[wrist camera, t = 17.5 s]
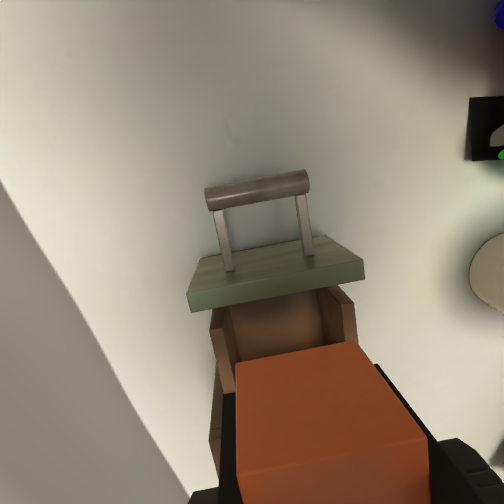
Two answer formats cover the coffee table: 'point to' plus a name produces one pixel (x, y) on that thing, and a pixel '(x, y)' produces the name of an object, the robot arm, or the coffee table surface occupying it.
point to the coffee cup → (489, 273)
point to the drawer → (273, 283)
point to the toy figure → (488, 117)
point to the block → (325, 432)
